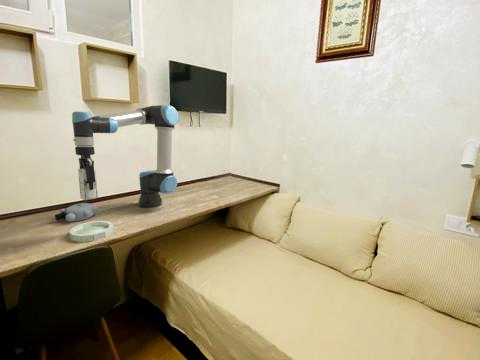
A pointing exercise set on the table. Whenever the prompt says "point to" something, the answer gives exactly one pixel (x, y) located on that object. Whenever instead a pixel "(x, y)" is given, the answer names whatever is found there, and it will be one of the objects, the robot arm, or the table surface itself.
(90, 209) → the figurine
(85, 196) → the syrup box
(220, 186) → the table surface
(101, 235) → the round bowl
